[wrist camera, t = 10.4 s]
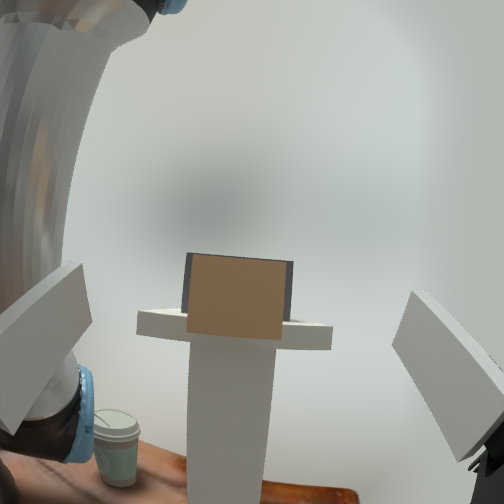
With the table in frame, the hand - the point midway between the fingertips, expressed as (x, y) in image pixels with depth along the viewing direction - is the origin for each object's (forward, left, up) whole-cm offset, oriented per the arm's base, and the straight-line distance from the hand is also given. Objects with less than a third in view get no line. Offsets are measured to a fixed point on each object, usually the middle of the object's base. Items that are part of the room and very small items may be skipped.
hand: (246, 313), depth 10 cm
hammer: (+2, +8, -1) cm, 8 cm away
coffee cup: (-7, +31, -31) cm, 44 cm away
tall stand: (+4, +12, -31) cm, 33 cm away
